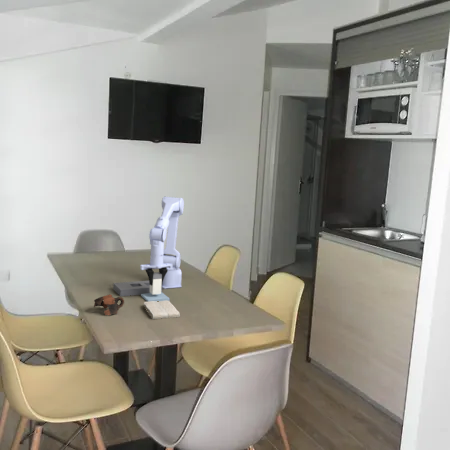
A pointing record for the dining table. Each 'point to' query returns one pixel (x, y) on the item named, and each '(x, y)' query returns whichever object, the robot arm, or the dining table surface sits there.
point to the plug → (156, 283)
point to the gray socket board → (132, 288)
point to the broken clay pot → (109, 304)
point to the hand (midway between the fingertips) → (155, 284)
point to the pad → (155, 297)
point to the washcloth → (161, 309)
